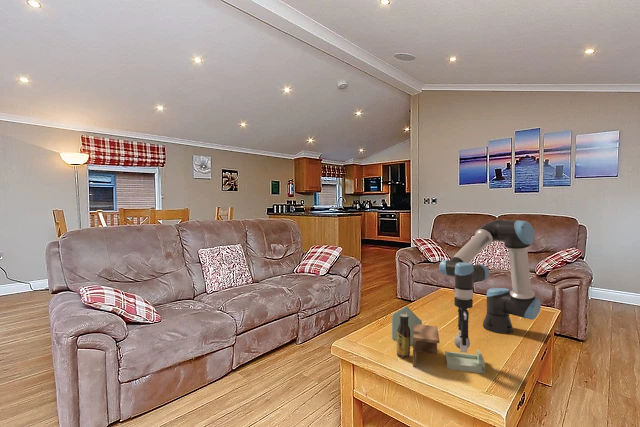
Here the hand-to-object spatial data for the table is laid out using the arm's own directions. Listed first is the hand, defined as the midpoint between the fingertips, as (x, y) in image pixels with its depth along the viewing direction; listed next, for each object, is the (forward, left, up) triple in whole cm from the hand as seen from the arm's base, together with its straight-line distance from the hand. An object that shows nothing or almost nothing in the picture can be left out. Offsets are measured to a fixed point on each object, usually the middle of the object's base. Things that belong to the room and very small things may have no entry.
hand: (462, 348), depth 149 cm
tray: (-1, 0, -7) cm, 8 cm away
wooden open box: (+16, 0, -7) cm, 18 cm away
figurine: (0, 0, 0) cm, 1 cm away
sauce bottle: (+26, -1, -8) cm, 27 cm away
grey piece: (+23, -19, -8) cm, 31 cm away
